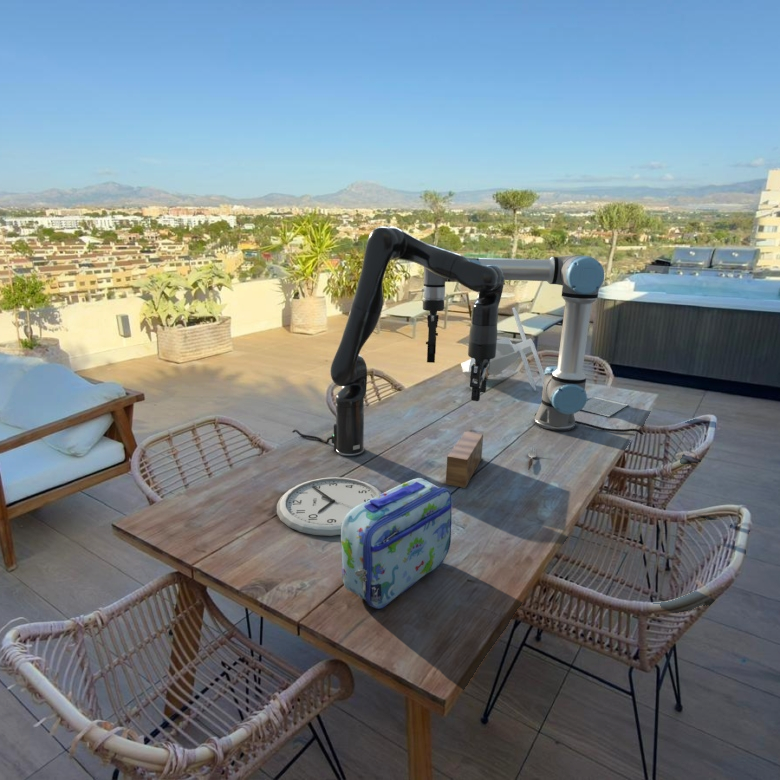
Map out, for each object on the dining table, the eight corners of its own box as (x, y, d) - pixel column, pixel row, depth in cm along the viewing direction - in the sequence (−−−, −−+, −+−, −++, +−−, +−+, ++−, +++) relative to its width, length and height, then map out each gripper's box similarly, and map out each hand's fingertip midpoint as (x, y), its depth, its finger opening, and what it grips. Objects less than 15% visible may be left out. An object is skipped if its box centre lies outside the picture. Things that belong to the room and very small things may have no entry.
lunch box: (370, 622, 101) (370, 527, 94) (335, 595, 108) (333, 505, 102) (455, 565, 118) (460, 481, 112) (420, 544, 125) (423, 465, 119)
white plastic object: (482, 419, 265) (461, 396, 241) (463, 346, 287) (443, 319, 263) (553, 395, 253) (539, 368, 228) (528, 321, 275) (513, 290, 250)
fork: (524, 470, 165) (524, 465, 164) (529, 451, 179) (529, 446, 179) (532, 472, 164) (533, 466, 163) (537, 452, 178) (537, 447, 178)
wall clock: (392, 527, 129) (268, 531, 127) (391, 533, 130) (269, 537, 127) (383, 473, 158) (282, 475, 155) (383, 478, 158) (282, 480, 156)
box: (463, 456, 175) (465, 430, 172) (481, 459, 173) (483, 433, 170) (445, 484, 156) (447, 456, 153) (465, 488, 154) (467, 459, 151)
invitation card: (608, 416, 214) (573, 407, 224) (608, 416, 214) (573, 408, 224) (628, 404, 229) (594, 396, 238) (628, 405, 229) (594, 397, 238)
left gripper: (475, 334, 151) (471, 387, 156) (463, 343, 138) (459, 401, 143) (501, 336, 148) (496, 391, 153) (491, 346, 136) (486, 405, 140)
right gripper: (424, 294, 195) (422, 349, 202) (421, 303, 172) (419, 365, 178) (444, 294, 195) (442, 350, 201) (444, 304, 171) (441, 366, 177)
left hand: (478, 396), depth 148 cm, fingers open, 8 cm apart
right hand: (431, 357), depth 189 cm, fingers open, 13 cm apart
